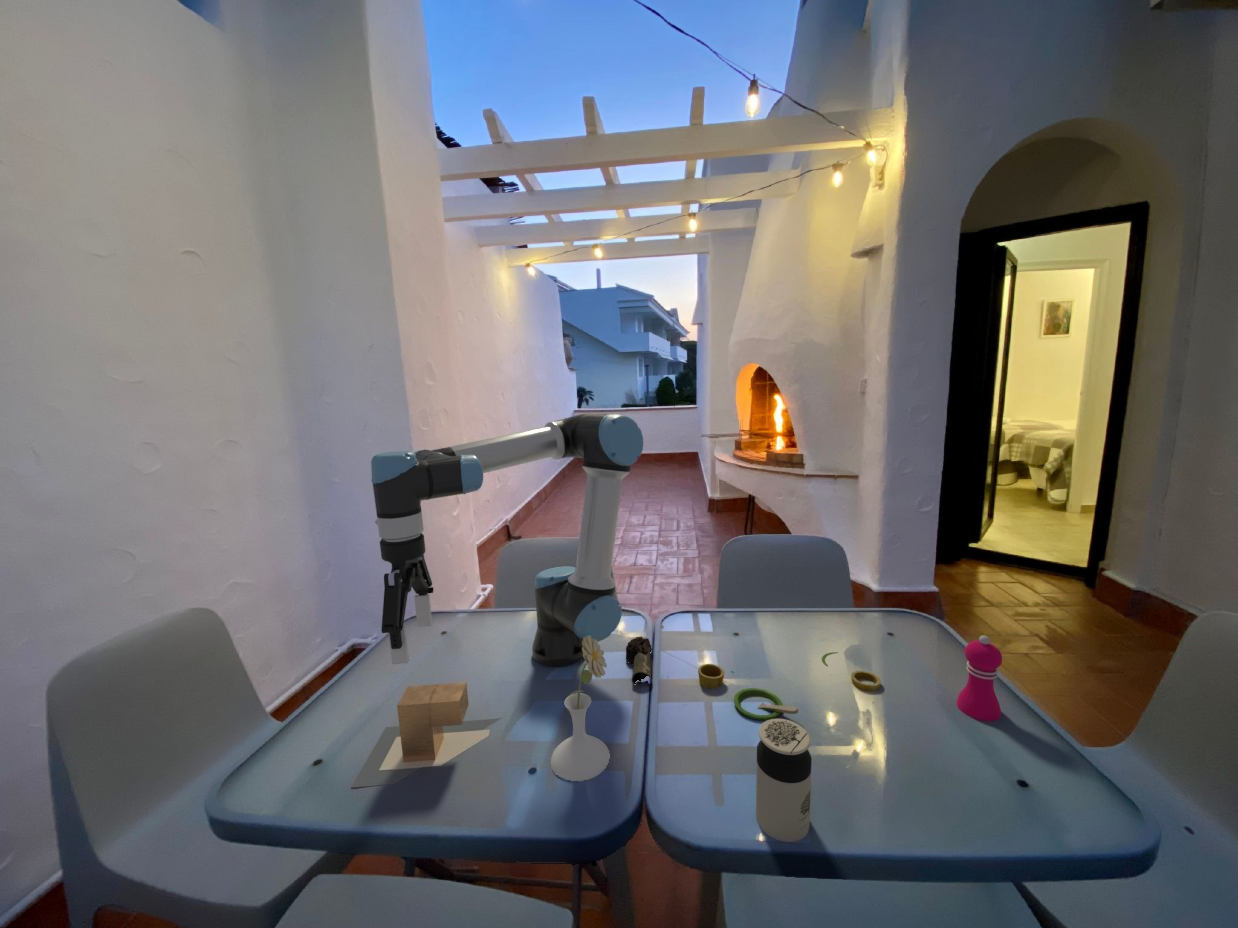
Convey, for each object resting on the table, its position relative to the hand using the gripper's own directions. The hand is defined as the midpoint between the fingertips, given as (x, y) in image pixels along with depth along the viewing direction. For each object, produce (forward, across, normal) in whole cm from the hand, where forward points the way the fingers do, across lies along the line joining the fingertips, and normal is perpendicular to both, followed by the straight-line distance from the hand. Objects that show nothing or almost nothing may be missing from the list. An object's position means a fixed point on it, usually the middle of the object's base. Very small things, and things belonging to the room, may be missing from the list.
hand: (413, 642), depth 94 cm
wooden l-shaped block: (+23, 0, 0) cm, 23 cm away
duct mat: (+24, 0, +2) cm, 24 cm away
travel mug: (+24, +25, +62) cm, 71 cm away
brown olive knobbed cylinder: (+27, -18, +45) cm, 55 cm away
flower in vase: (+24, +6, +31) cm, 40 cm away
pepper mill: (+25, +5, +111) cm, 114 cm away
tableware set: (+25, -10, +78) cm, 83 cm away
